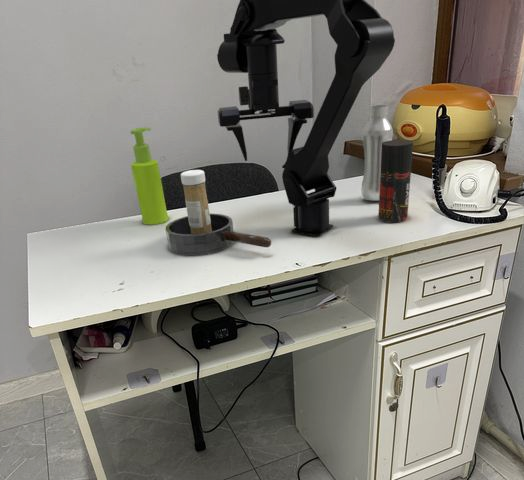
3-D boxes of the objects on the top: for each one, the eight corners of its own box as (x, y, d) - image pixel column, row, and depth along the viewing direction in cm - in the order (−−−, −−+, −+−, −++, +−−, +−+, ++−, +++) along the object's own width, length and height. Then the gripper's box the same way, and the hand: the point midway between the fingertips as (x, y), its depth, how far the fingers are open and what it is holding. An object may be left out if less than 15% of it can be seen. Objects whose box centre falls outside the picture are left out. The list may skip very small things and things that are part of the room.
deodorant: (379, 213, 106) (383, 140, 98) (407, 214, 105) (413, 139, 97) (377, 222, 102) (380, 146, 94) (406, 223, 100) (412, 145, 92)
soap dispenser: (174, 215, 117) (158, 125, 106) (160, 225, 112) (142, 131, 101) (153, 214, 119) (135, 126, 108) (138, 224, 114) (118, 131, 103)
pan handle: (274, 245, 90) (273, 236, 89) (267, 249, 89) (266, 240, 88) (226, 237, 96) (225, 228, 95) (219, 240, 95) (218, 232, 94)
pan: (232, 228, 106) (230, 210, 103) (236, 250, 94) (234, 230, 92) (170, 235, 105) (167, 217, 103) (167, 259, 94) (163, 239, 91)
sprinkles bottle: (218, 238, 99) (209, 170, 92) (200, 245, 96) (189, 176, 89) (204, 234, 102) (194, 168, 95) (186, 241, 99) (175, 173, 92)
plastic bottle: (392, 202, 112) (398, 106, 101) (363, 204, 112) (366, 109, 102) (386, 195, 118) (392, 103, 107) (358, 197, 118) (361, 105, 107)
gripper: (301, 66, 101) (303, 146, 109) (212, 74, 99) (220, 155, 108) (313, 69, 92) (314, 156, 100) (215, 78, 90) (224, 166, 99)
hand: (267, 158), depth 102 cm, fingers open, 9 cm apart
